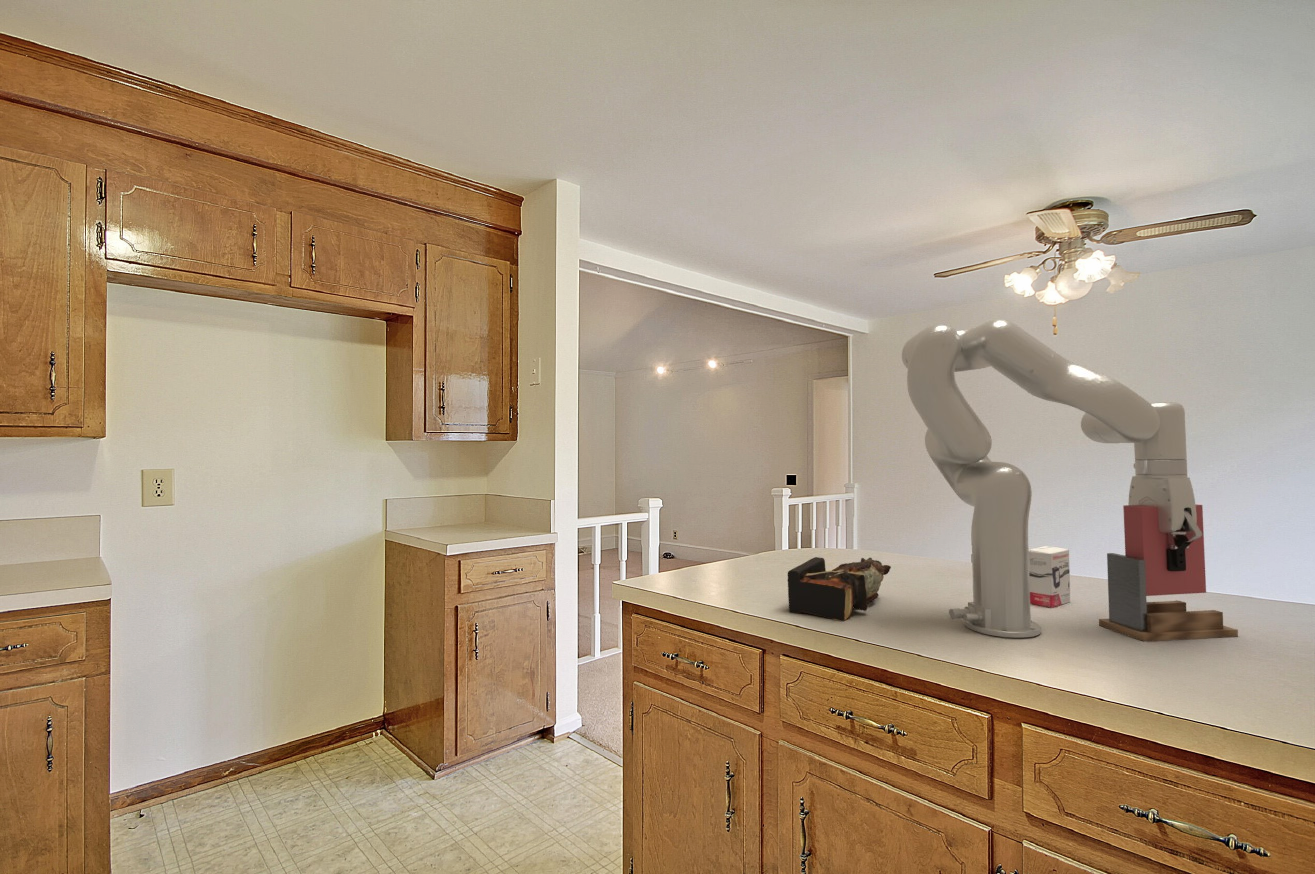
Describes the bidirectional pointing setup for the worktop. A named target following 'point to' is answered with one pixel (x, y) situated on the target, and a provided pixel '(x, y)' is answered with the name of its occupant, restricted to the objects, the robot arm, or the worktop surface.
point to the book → (1163, 553)
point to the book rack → (1176, 623)
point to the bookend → (834, 587)
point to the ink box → (1049, 576)
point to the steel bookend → (1127, 591)
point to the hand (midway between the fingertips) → (1164, 567)
